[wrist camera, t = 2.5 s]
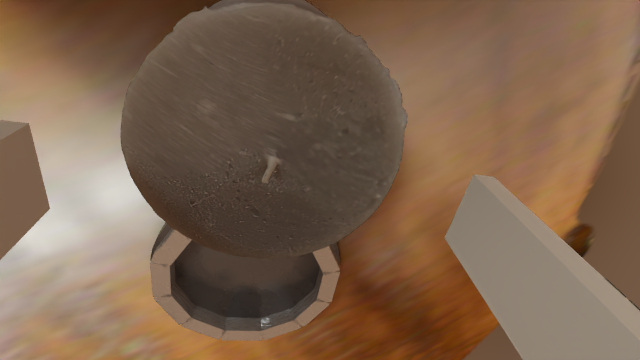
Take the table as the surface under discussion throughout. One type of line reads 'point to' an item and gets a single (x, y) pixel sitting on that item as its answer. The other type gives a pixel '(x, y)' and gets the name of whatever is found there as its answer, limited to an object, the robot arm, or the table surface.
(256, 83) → the pillar candle
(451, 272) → the table surface
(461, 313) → the table surface
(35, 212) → the robot arm
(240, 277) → the ring plate
